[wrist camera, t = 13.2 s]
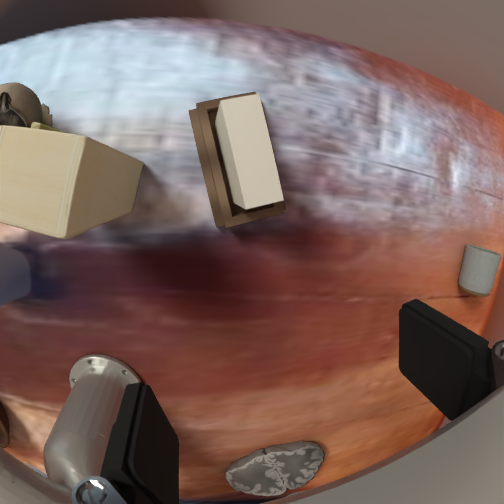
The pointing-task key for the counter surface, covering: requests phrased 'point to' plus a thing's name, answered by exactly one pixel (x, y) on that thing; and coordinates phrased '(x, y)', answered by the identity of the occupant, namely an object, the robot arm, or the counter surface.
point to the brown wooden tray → (222, 170)
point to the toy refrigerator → (62, 181)
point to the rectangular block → (247, 152)
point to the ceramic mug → (478, 270)
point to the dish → (4, 429)
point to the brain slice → (276, 468)
